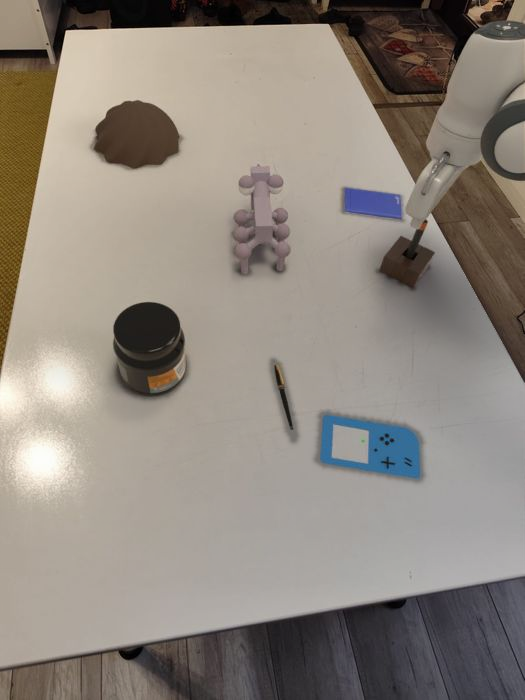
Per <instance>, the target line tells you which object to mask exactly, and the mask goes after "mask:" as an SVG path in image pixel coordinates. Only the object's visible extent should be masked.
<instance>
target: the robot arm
mask: <svg viewBox="0 0 525 700" xmlns="http://www.w3.org/2000/svg"><path fill="white" fill-rule="evenodd" d="M432 122H433V123H432V125H431V127H430V130H429V133H428V136H427V138H426V141H425V146H426V149H427V151H428V152H429V157H430V159H431V160H430V161H429V163H428V164H427V165H426V166H425V168H423V169H422V171H421V173H420V175H419V176H418V178H417V179H416V182H415V184H414V187H413V189H412V191H411V193H410V194H409V195H410V196H409V197H408V200H407V203H406V205H405V208H404V213H405V215H407V216H409V217H410V218H411V220H410V223H409V226H410V227H411V228H413V229H415V230H416V229H420V227H421V226H422V225H423V222H424V221H425V220H427V219H428V218H429V216H430V215H431V213H432V212H433V211H434V209H435V208H436V207H437V205H438V204H439V203H440V202H441V201H442V200H443V199H444V197H445V195H446V194H447V193H448V191H449V190H450V189H451V188H452V186H453V185H454V184H455V182H456V181H457V179H458V178H459V177H460V175H461V174H463V172H464V170H466V169H467V168H469V167H471V166H474V165H476V164H479V162H480V161H481V160H482V159H483V160H484V162H485V163H486V165H487V166H488V167H489V168H490V169H491V171H492V172H493V173H495V174H497V175H498V176H499V177H502V178H504V179H507V180H510V181H515V182H517V181H518V182H525V22H521V21H516V20H507V19H506V20H497V21H491V22H488V23H485V24H484V25H482V26H480V27H478V28H477V29H476V30H475V31H474V32H473V33H472V34H471V35H470V36H469V38H468V39H467V41H466V43H465V45H464V47H463V49H462V50H461V53H460V55H459V56H458V59H457V62H456V63H455V66H454V68H453V70H452V73H451V76H450V78H449V82H448V84H447V88H446V96H445V99H444V101H443V103H442V104H441V105H440V107H439V108H438V109H437V112H436V115H435V118H434V120H433V121H432Z"/></svg>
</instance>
